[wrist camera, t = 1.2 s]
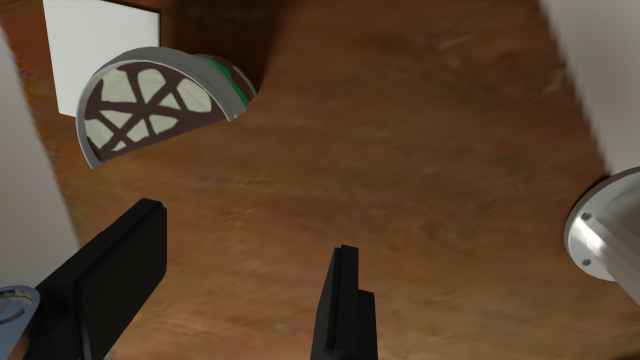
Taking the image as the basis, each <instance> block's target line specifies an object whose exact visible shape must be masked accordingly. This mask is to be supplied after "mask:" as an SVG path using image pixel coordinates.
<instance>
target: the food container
mask: <svg viewBox="0 0 640 360" xmlns="http://www.w3.org/2000/svg"><path fill="white" fill-rule="evenodd" d="M257 94H258V92H257V90H256V88H255V86H254V84H253V82H252V81H251V80H250V78H249V77H248V76H247V75H246V74H245V73H244V72H243V71H242V69H241V68H240V67H238V66H237V65H235V64H234V63H232V62H230V61H229V60H227V59H226V58H224V57H220V56H216V55H212V54H208V53H205V54H187V53H184V52H182V51H179V50H175V49H170V48H166V47H153V46H149V47H141V48H136V49H132V50H129V51H126V52H124V53H122V54H120V55H119V56H117V57H115V58H113V59H112V60H110V61H109V62H107V63H106V64H104V65H103V66H101V67H100V68H99V69H98V70H97V71H96V72H95V73H94V74H93V75H92V77H91V78H90V79H89V81H88V82H87V84H86V86H85V87H84V88H83V91H82V93H81V95H80V97H79V100H78V105H77V109H76V128H77V135H78V139H79V142H80V146H81V149H82V151H83V153H84V155H85V158H86V160H87V161H88V163H89V165H90V166H91V168H92V169H94V168H96V167H97V166H99V165H101V164H103V163H105V162H106V161H108V160H110V159H112V158H114V157H117V156H120V155H123V154H125V153H128V152H131V151H134V150H137V149H140V148H143V147H146V146H149V145H152V144H155V143H158V142H161V141H164V140H167V139H169V138H172V137H175V136H177V135H180V134H183V133H186V132H189V131H191V130H194V129H197V128H200V127H203V126H206V125H209V124H211V123H214V122H217V121H220V120H222V119H225V118H227V119H228V121H231V120H232V119H234V118H236V117H238V116H239V115H241V114H242V113H244V112H245V111H247V110H246V108H245V106H246V105H247V104H248V103H249V102H250V101H251V100H252V99H253V98H254V97H255V96H256V95H257Z"/></svg>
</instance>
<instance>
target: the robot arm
mask: <svg viewBox="0 0 640 360" xmlns="http://www.w3.org/2000/svg"><path fill="white" fill-rule="evenodd" d="M564 244H565V247H566V250H567V252H568V254H569V255H570V257H571V258H572V260H573V261H574V262H575V263H576V264H577V265H578V267H580V268H581V269H582V270H584V271H585V272H586V273H588V274H590V275H592V276H595V277H597V278H600V279H604V280H608V281H616V282H617V283H618V284H619V285H620V286H621V287H622V288H623V289H624V290H625V291H626V292H627V293H628V294H629V295H630V296H631V297H632V298H633V299H634V300H635V301H636V302H637V304H638V305H639V306H640V166H639V167H636V168H631V169H628V170H625V171H623V172H620V173H618V174H615V175H613V176H611V177H610V178H608V179H606V180H604V181H602V182H601V183H599V184H598V185H596V186H595V187H594V188H592V189H591V190H590V191H588V192H587V193H586V194H585V195H584V196H583V197H582V198H581V199H580V200H579V201H578V203H577V204H576V206H575V207H574V208H573V210H572V211H571V213H570V215H569V217H568V219H567V221H566V225H565V229H564ZM166 269H167V209H166V208H165V207H163V204H162V203H161V202H160V201H155V200H151V199H147V198H142V199H141V200H139V201H138V202H137V203H136V204H135V205H134V206H132V207H131V208H130V209H129V210H128V211H127V212H125V213H124V214H123V215H122V216H121V217H119V218H118V219H117V220H116V221H115V222H114V223H112V224H111V225H110V226H109V227H108V228H107V229H105V230H104V231H102V232H101V233H99V234H98V235H97V236H95V237H94V238H93V239H92V240H91V241H89V242H88V243H87V244H86V245H85V246H84V247H82V248H81V249H80V250H79V251H78V252H77V253H75V254H74V255H73V256H72V257H71V258H69V259H68V260H67V261H66V262H65V263H64V264H62V265H61V266H60V267H59V268H58V269H56V270H55V271H54V272H53V273H52V274H51V275H50V276H48V277H47V278H46V279H45V280H43V281H42V282H41V283H40V284H39V285H38V286H36V287H35V288H32V287H29V286H24V285H13V286H6V287H2V288H0V360H103V359H104V357H105V356H106V354H107V353H108V352H109V350H110V349H111V348H112V346H113V345H114V344H115V342H116V341H117V340H118V338H119V337H120V336H121V334H122V333H123V331H124V330H125V329H126V327H127V326H128V325H129V323H130V322H131V321H132V319H133V318H134V317H135V315H136V314H137V313H138V311H139V310H140V309H141V307H142V306H143V304H144V303H145V302H146V300H147V299H148V298H149V296H150V295H151V294H152V292H153V291H154V290H155V288H156V287H157V286H158V284H159V283H160V281H161V280H162V279H163V277H164V275H165V273H166ZM310 360H378V351H377V332H376V314H375V298H374V294H373V293H372V292H368V291H364V290H359V289H358V248H355V247H351V246H347V245H342V246H341V248H336V247H335V249H334V252H333V256H332V259H331V263H330V266H329V270H328V273H327V277H326V280H325V283H324V287H323V290H322V294H321V297H320V301H319V304H318V309H317V314H316V321H315V328H314V336H313V343H312V350H311V357H310Z"/></svg>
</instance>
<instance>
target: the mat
mask: <svg viewBox="0 0 640 360" xmlns="http://www.w3.org/2000/svg"><path fill="white" fill-rule="evenodd" d="M43 4H44V11H45V18H46V24H47V31H48V38H49V45H50V52H51V59H52V66H53V73H54V80H55V87H56V93H57V100H58V107H59V113H62V114H66V115H70V116H74V117H76V109H77V105H78V100H79V97H80V95H81V93H82V91H83V88H84V87H85V86H86V84H87V82H88V81H89V79H90V78H91V77H92V75H93V74H94V73H95V72H96V71H97V70H98V69H99V68H100V67H101V66H103V65H104V64H106V63H107V62H109V61H110V60H112V59H113V58H115V57H117V56H119V55H120V54H122V53H124V52H126V51H129V50H132V49H136V48H141V47H149V46H153V47H160V14H158V13H153V12H149V11H145V10H141V9H136V8H132V7H128V6H124V5H119V4H115V3H111V2H107V1H103V0H43Z"/></svg>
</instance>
